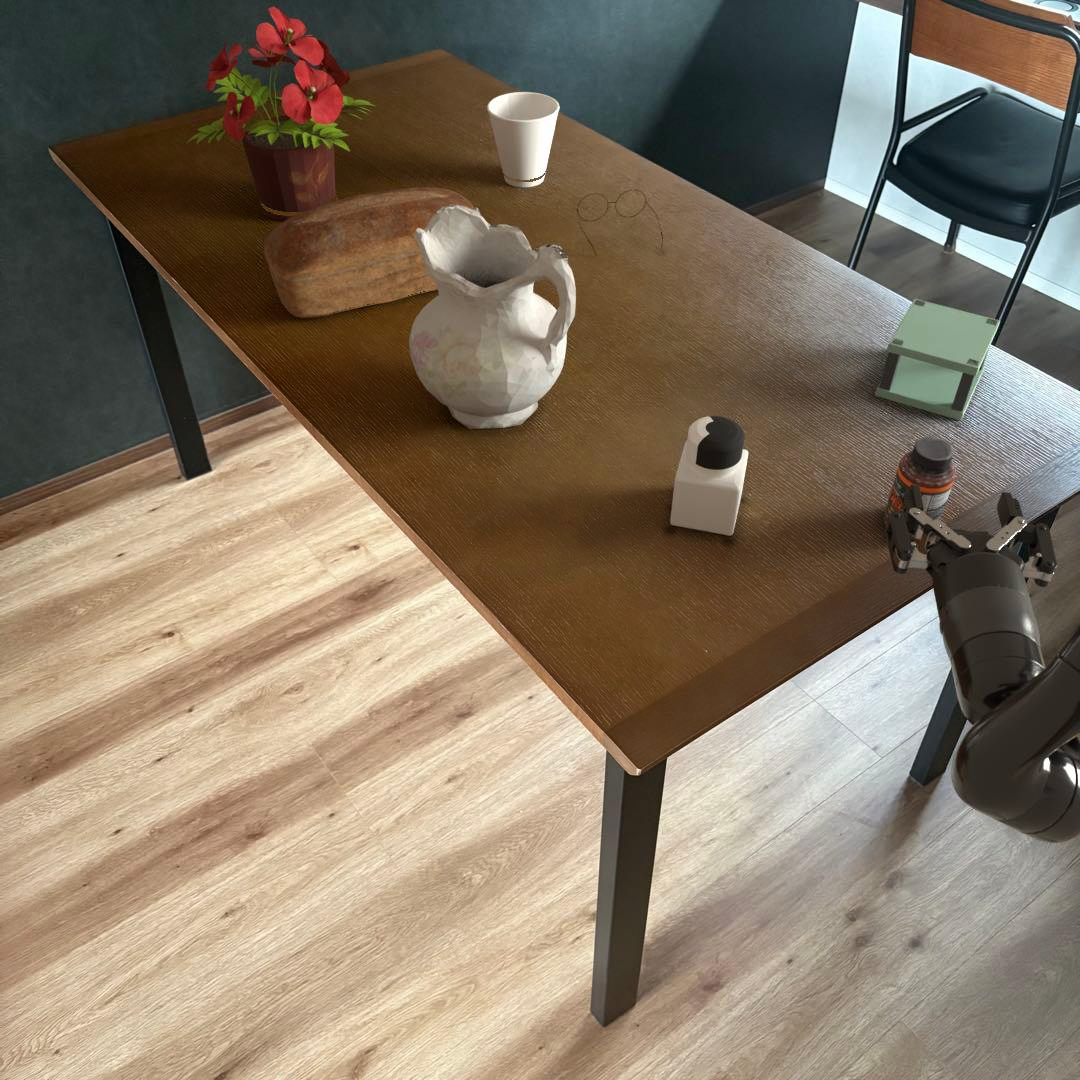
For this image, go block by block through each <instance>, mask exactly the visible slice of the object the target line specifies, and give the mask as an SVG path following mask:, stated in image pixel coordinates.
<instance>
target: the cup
mask: <svg viewBox="0 0 1080 1080" xmlns="http://www.w3.org/2000/svg"><path fill="white" fill-rule="evenodd" d="M560 108H561V107H560V104H559V102H558V101H557V99H555V98H553V97H551V96H549V95H547V94H544V93H539V92H531V91H515V92H507V93H504V94H501V95H498V96H496V97H494V98H492V99H491V100H490V101H489V102H488V103H487V105H486V110H487V113H488V115H489V116H488V117H489V120H490V124H491V128H492V133H493V137H494V141H495V146H496V150H497V154H498V158H499V161H500V166H501V170H502V174H503V173H504V174H505V175H506V176H508V177H510V178H513V179H520V180H530V179H534V178H538V177H540V176H542V175H543V174H544V173H545V175H544V176H543V177H542V178H541V179H539V180H536V181H533V182H515V181H511V180H509V179H507V178H506V177H505V176H504V175H503V179H504V181H505V183H506V184H508V185H509V186H512V187H515V188H516V187H517V188H532V187H536V186H539V185H540V184H542V183H543V182H544V180H545V177H546V172H545V171H547V166H548V163H549V157H550V152H551V147H552V143H553V138H554V134H555V129H556V123H557V119H558V114H559V112H560Z"/></svg>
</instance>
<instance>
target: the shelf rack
mask: <svg viewBox="0 0 1080 1080" xmlns="http://www.w3.org/2000/svg"><path fill="white" fill-rule="evenodd" d="M1000 323H1001V320H999V319H995V318H991V317H987V316H983V315H979V314H976V313H972V312H968V311H965V310H960V309H957V308H953V307H948V306H945V305H942V304H937V303H933V302H930V301H927V300H922V299H919V298H914V299H913V301H912V303H911V304H910V305H909V308H908V310H907V311H906V313H905V315H904V316H903V318H902V320H901V322H900V323H899V325H898V327H897V328H896V330H895V332H894V333H893V335H892V337H891V339H890V341H889V343H888V345H887V348H886V352H887V354H886V355H887V356H886V360H885V363H884V367H883V371H882V375H881V379H880V381H879V384H878V386H877V388H876V390H875V393H874V396H875V397H878V398H881V399H886V400H889V401H892V402H895V403H898V404H902V405H905V406H909V407H913V408H916V409H919V410H923V411H926V412H930V413H933V414H937V415H939V416H942V417H943V416H944V417H946V418H949V419H954V420H957V421H962V420H963V417H964V416H965V413H966V410H967V409H968V406H969V404H970V401H971V399H972V397H973V395H974V393H975V392H976V391H975V390H976V388H977V386H978V384H979V382H980V379H981V378H982V375H983V373H984V370H985V367H986V364H985V362H986V359H987V356H988V353H989V350H990V348H991V344H992V342H993V340H994V338H995V335H996V333H997V331H998V329H999V326H1000Z"/></svg>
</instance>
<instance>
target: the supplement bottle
mask: <svg viewBox="0 0 1080 1080" xmlns="http://www.w3.org/2000/svg"><path fill="white" fill-rule="evenodd" d="M954 453H955V450H954V448H953V446H952V445H951V443H950V442H949V441H946V440H945V439H944V438H941V437H937V436H924V437H921V438H919V439H917V440H916V442H915V443H914V447H913V448H912V450H910V451H908V452H906V453H905V454H904V455H903V456H902V457H901V459H900V461H899V464H898V467H897V470H896V472H895V476H894V480H893V483H892V486H891V490H890V493H889V496H888V500H887V503H886V505H885V510H884V514H883V521H884V524H885V527H887V525H888V522H889V517H890V513H891V512H892V511H900V512H902V506H901V502H902V498H903V495H904V492H905V490H906V489H910V486H911V484H914V485H919V486H920V492H921V497H922V502H923V507H924V509H923V512H924V513H925V514H926V515H928V516H929V517H930V518H931V519H933V520H935V519H939V520H940V521H941V520H942V519H941V518H942V516H943V514H944V511H945V507H946V505H947V501H948V500H949V496H950V494H951V491H952V488H953V486H954V482H955V480H956V475H957V469H956V466H955V463H954V462H953V457H954ZM902 513H903V512H902ZM918 528H920V529H921V530H922V531H923V528H922V527H921V526H919V527H918ZM910 541H914V540H913V539H912V538H910Z"/></svg>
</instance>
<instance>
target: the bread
mask: <svg viewBox="0 0 1080 1080" xmlns="http://www.w3.org/2000/svg"><path fill="white" fill-rule="evenodd" d="M450 204H451V205H453V204H456V205H459V206H465V207H467V208H469V209H472V210H475V209H476V207H474V205H473V203H472V202H471V201H470V200H469V199H467V198H466V197H465V196H463V195H462V194H460V193H458V192H456V191H454V190H450V189H446V188H441V187H432V186H427V187H426V186H418V187H417V186H416V187H410V188H400V189H391V190H383V191H375V192H366V193H360V194H355V195H352V196H349V197H344V198H342V199H338V201H335V202H332V203H329V204H326V205H323V206H320V207H317V208H313V209H310V210H307V211H305V212H302V213H299V214H297V215H295V216H293V217H291V218H289V219H287V220H286V221H281V223H279V224H278V225H277V226H276V227H275V228H273V229H272V230H271V232H270V233H269V234H268V235H267V236H266V240H264V242H263V253H264V256H265V259H266V260H267V264H268V268H269V272H270V275H271V278H272V281H273V284H274V286H275V289H276V292H277V295H278V298H279V297H280V298H279V301H280V302H282V303H281V304H282V306H283V305H284V306H283V307H284V308H285V310H286V309H287V310H286V311H287V312H288V313H289V314H290V315H292V316H294V317H295V318H297V317H307V318H304V320H305V319H317V318H325V317H328V316H332V315H336V314H339V313H342V312H345V311H351V310H355V309H359V308H364V307H368V306H373V305H374V306H375V305H378V304H385V303H390V302H394V301H397V300H401V299H405V298H408V297H411V296H416V295H419V294H423V293H428V292H433V291H438V288H437V285H436V283H435V281H434V280H433V279H432V277H431V276H430V274H429V272H428V270H427V268H426V267H425V264H424V261H423V258H422V256H421V252H420V248H419V244H418V242H417V240H416V239H415V238H414V237H415V232H416V230H417V228H421V229H422V230H423V229H425V228H426V226H427V224H428V222H429V221H430V219H431V218H432V217H433V216H434V215H435V214H437V213H436V212H437V211H438V210H439V209H441V208H442V207H443V206H445V207H446V206H448V205H450ZM423 291H425V292H423ZM420 292H421V293H420ZM415 293H417V294H415ZM411 294H413V295H411ZM408 295H409V296H408ZM373 303H374V304H373ZM367 304H369V305H367ZM363 305H364V306H363ZM358 306H359V307H358ZM354 307H355V308H354ZM349 308H351V309H349ZM345 309H346V310H345ZM341 310H342V311H341ZM337 311H338V312H337ZM333 312H335V313H333ZM330 313H331V314H330ZM325 314H327V315H325ZM319 315H323V316H319ZM311 316H316V317H311Z"/></svg>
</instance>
